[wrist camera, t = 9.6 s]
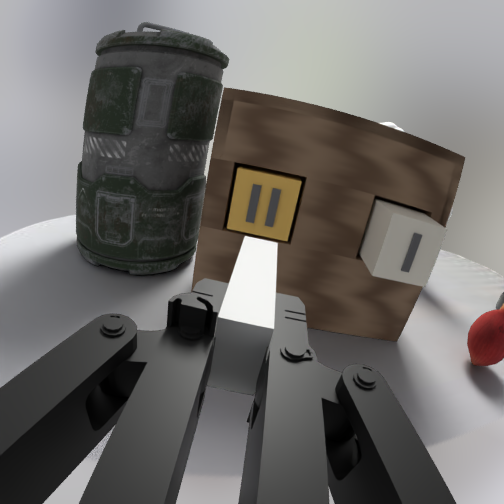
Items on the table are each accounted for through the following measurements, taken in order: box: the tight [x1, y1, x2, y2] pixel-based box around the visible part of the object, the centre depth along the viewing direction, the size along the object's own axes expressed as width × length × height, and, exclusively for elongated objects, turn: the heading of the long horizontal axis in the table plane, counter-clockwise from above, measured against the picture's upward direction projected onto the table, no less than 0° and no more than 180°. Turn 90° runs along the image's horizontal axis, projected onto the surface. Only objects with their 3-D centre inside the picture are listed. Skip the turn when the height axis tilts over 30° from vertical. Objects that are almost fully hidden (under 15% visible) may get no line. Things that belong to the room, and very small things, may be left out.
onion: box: [467, 304, 504, 366], centre depth 26 cm, size 6×6×8 cm
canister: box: [76, 22, 229, 275], centre depth 33 cm, size 16×16×28 cm
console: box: [191, 88, 465, 341], centre depth 30 cm, size 22×8×20 cm, turn 85°
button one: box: [358, 198, 447, 287], centre depth 24 cm, size 5×5×5 cm
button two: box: [227, 164, 301, 241], centre depth 28 cm, size 5×5×5 cm
